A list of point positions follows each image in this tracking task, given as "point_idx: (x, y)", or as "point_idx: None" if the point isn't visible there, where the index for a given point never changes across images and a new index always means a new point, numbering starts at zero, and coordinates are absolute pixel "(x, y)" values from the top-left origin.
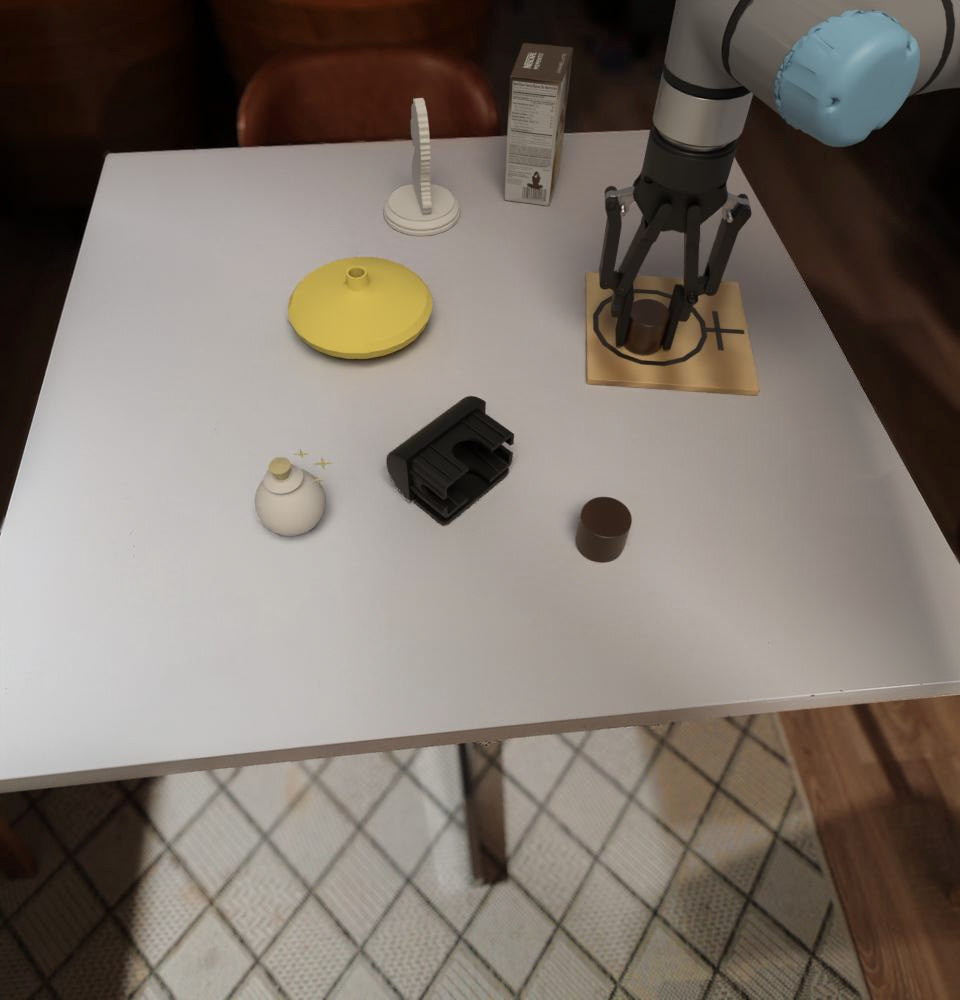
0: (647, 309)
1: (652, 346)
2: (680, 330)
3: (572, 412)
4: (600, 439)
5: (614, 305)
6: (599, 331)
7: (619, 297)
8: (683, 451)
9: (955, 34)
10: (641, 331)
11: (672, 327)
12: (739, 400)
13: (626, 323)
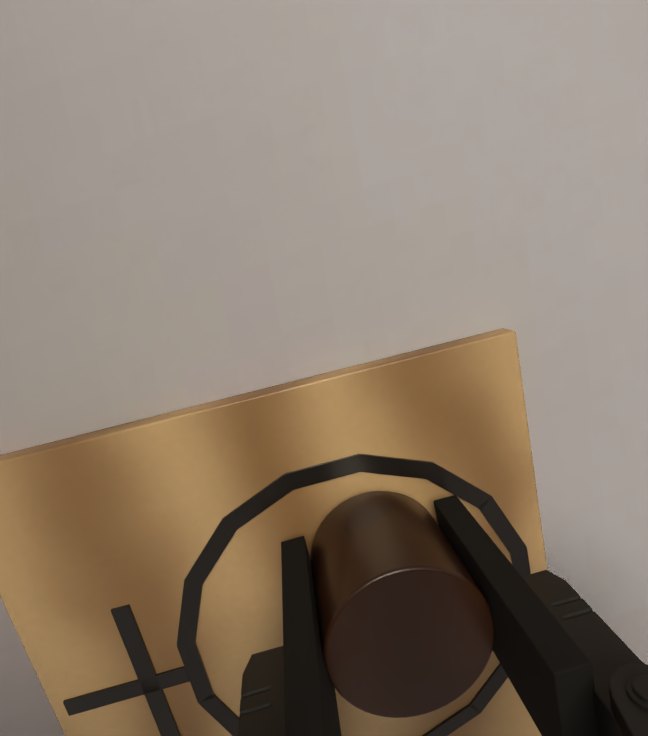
0: (421, 657)
1: (345, 520)
2: (265, 640)
3: (529, 189)
4: (425, 90)
5: (586, 614)
6: (508, 544)
7: (607, 657)
8: (143, 119)
9: None
10: (414, 545)
11: (300, 607)
12: (15, 424)
13: (483, 560)
